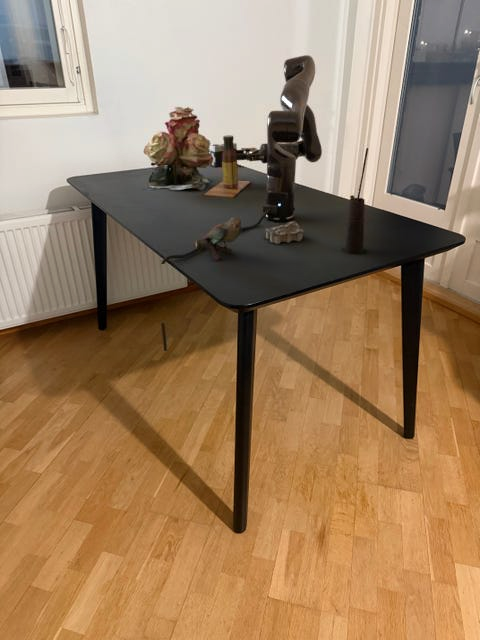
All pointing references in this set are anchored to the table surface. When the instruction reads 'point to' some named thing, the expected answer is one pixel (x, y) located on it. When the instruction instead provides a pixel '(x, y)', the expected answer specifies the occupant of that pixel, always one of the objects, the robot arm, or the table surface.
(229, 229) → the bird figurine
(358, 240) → the butter churn
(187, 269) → the table surface
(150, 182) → the rose bouquet
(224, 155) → the sauce bottle
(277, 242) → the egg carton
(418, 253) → the table surface
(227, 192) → the flat copper plate
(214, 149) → the camera
